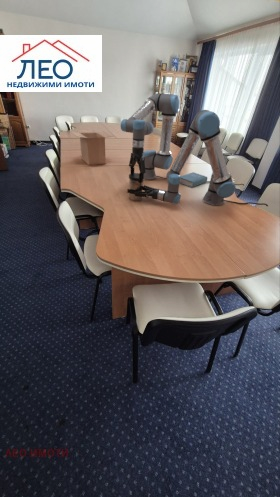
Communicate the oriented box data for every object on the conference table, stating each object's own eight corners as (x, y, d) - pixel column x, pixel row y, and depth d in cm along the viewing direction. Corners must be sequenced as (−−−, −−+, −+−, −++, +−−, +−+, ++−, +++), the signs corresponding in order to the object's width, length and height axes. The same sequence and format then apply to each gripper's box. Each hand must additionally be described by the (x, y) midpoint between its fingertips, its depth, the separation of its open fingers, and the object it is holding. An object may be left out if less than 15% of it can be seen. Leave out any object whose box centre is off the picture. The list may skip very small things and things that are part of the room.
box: (116, 165, 229) (116, 136, 213) (83, 168, 214) (80, 137, 198) (102, 154, 259) (101, 128, 243) (71, 156, 244) (68, 129, 228)
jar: (126, 197, 166) (126, 176, 156) (135, 194, 172) (136, 173, 162) (135, 201, 161) (136, 179, 151) (144, 198, 167) (146, 176, 157)
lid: (132, 181, 152) (132, 178, 151) (126, 176, 160) (126, 173, 159) (146, 180, 155) (146, 177, 154) (140, 175, 163) (140, 172, 162)
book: (192, 177, 213) (193, 172, 210) (206, 182, 204) (207, 177, 201) (177, 182, 200) (178, 176, 197) (192, 187, 191) (193, 182, 188)
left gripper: (124, 143, 151) (123, 175, 164) (143, 151, 136) (140, 186, 149) (133, 142, 155) (132, 174, 168) (152, 150, 139) (149, 184, 152)
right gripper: (152, 205, 151) (123, 198, 158) (163, 194, 168) (136, 188, 175) (153, 195, 147) (123, 188, 153) (164, 184, 164) (136, 179, 170)
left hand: (136, 179), depth 158 cm, fingers closed on lid, 11 cm apart
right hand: (130, 188), depth 164 cm, fingers closed on jar, 10 cm apart
